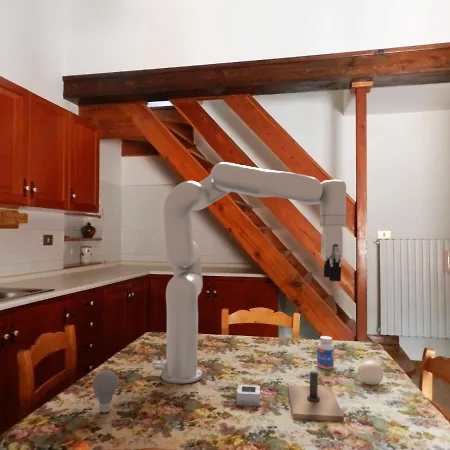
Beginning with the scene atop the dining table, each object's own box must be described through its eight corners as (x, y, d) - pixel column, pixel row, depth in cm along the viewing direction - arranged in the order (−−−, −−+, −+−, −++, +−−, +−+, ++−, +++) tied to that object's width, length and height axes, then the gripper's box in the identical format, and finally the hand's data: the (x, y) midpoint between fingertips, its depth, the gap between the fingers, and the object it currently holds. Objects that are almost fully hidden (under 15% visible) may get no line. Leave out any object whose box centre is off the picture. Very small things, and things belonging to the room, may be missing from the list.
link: (236, 404, 104) (236, 393, 105) (237, 395, 110) (238, 384, 110) (259, 406, 104) (260, 394, 104) (259, 396, 110) (260, 385, 110)
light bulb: (103, 419, 95) (104, 376, 95) (86, 412, 98) (87, 371, 98) (122, 410, 100) (123, 369, 100) (105, 404, 103) (106, 365, 104)
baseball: (361, 377, 126) (361, 356, 126) (385, 383, 122) (386, 360, 122) (354, 384, 120) (354, 361, 120) (379, 390, 116) (380, 366, 116)
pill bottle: (315, 367, 134) (316, 338, 135) (318, 363, 139) (318, 334, 140) (332, 370, 132) (333, 340, 133) (334, 365, 137) (335, 336, 138)
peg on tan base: (293, 418, 97) (293, 384, 97) (287, 389, 115) (288, 360, 115) (343, 421, 96) (344, 386, 96) (330, 391, 114) (331, 362, 114)
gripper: (316, 222, 130) (315, 275, 130) (324, 220, 113) (323, 282, 112) (339, 222, 129) (339, 276, 129) (352, 221, 112) (351, 283, 112)
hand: (331, 279), depth 121 cm, fingers open, 9 cm apart
